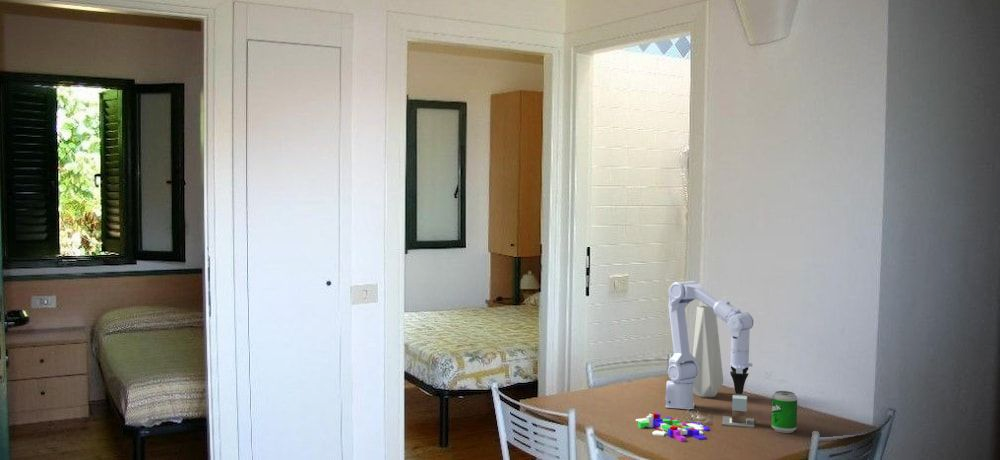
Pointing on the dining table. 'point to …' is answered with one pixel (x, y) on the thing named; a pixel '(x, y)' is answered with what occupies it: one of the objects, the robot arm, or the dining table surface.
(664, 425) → the building block set
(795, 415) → the soda can
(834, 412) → the dining table surface
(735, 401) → the pale grey cube
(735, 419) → the walnut block
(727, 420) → the grey flat square plate
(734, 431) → the dining table surface
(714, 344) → the vase
